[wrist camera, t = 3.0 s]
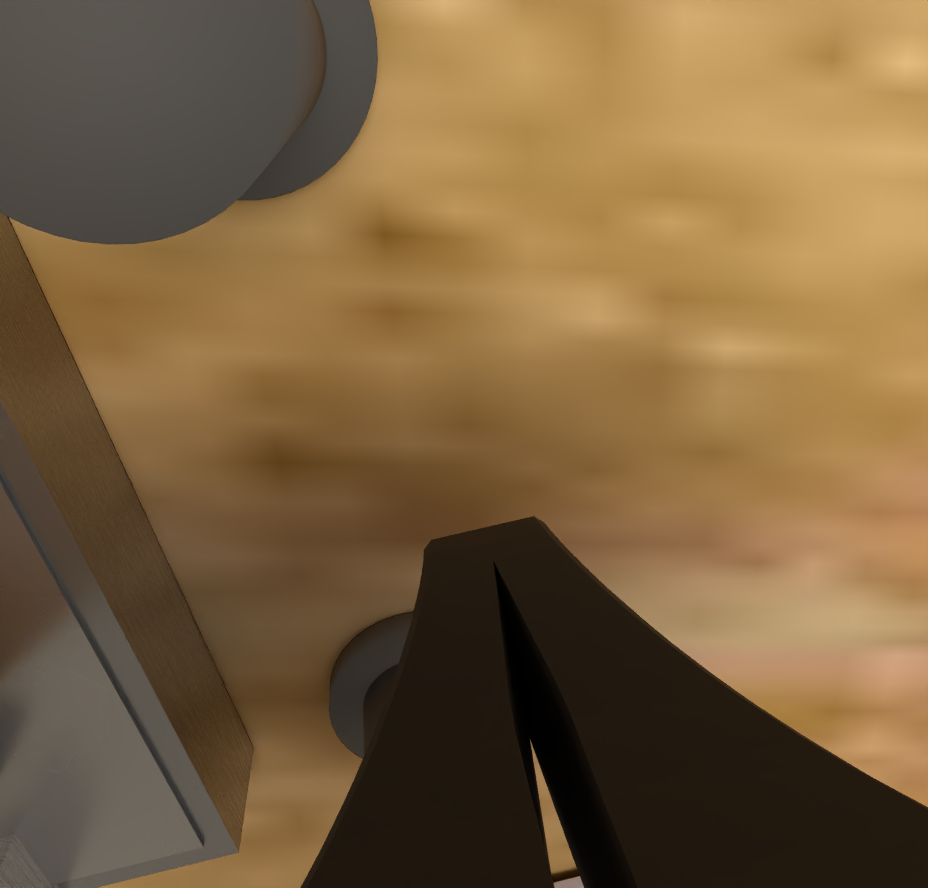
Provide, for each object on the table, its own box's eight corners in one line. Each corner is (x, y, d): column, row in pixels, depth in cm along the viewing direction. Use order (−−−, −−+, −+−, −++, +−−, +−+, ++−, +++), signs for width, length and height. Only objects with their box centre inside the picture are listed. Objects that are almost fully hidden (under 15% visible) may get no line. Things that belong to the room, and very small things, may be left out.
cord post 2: (524, 725, 18) (617, 1083, 11) (356, 766, 18) (358, 1151, 11) (495, 592, 16) (588, 933, 10) (307, 636, 16) (278, 1012, 9)
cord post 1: (403, 163, 12) (459, 274, 6) (150, 219, 12) (-78, 395, 5) (335, -152, 10) (308, -510, 4) (33, -91, 10) (-509, -352, 4)
